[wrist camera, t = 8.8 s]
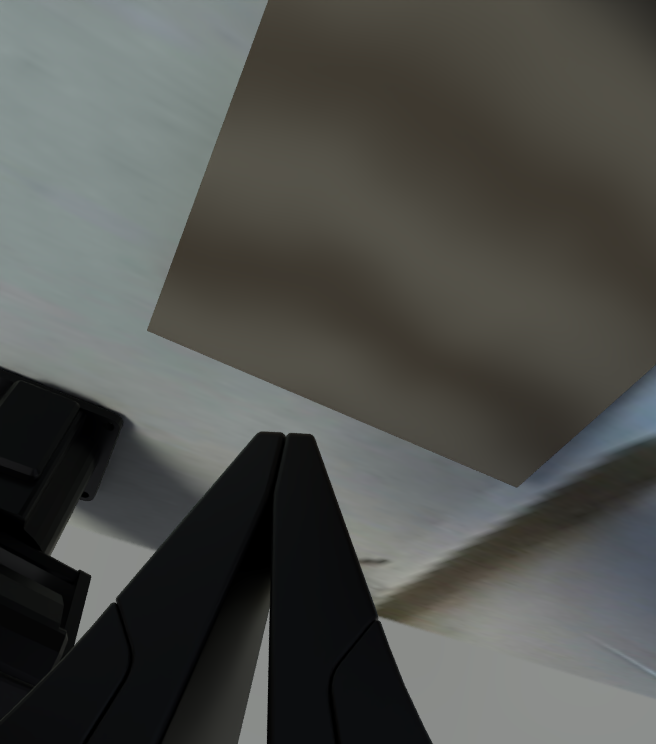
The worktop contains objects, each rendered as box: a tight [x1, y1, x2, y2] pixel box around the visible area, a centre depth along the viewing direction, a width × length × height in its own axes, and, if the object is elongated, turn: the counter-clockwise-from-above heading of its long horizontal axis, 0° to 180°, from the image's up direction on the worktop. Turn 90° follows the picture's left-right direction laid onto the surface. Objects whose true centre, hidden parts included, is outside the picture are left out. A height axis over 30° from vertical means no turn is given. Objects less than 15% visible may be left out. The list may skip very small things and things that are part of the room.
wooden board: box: [147, 0, 656, 487], centre depth 18 cm, size 20×16×2 cm
